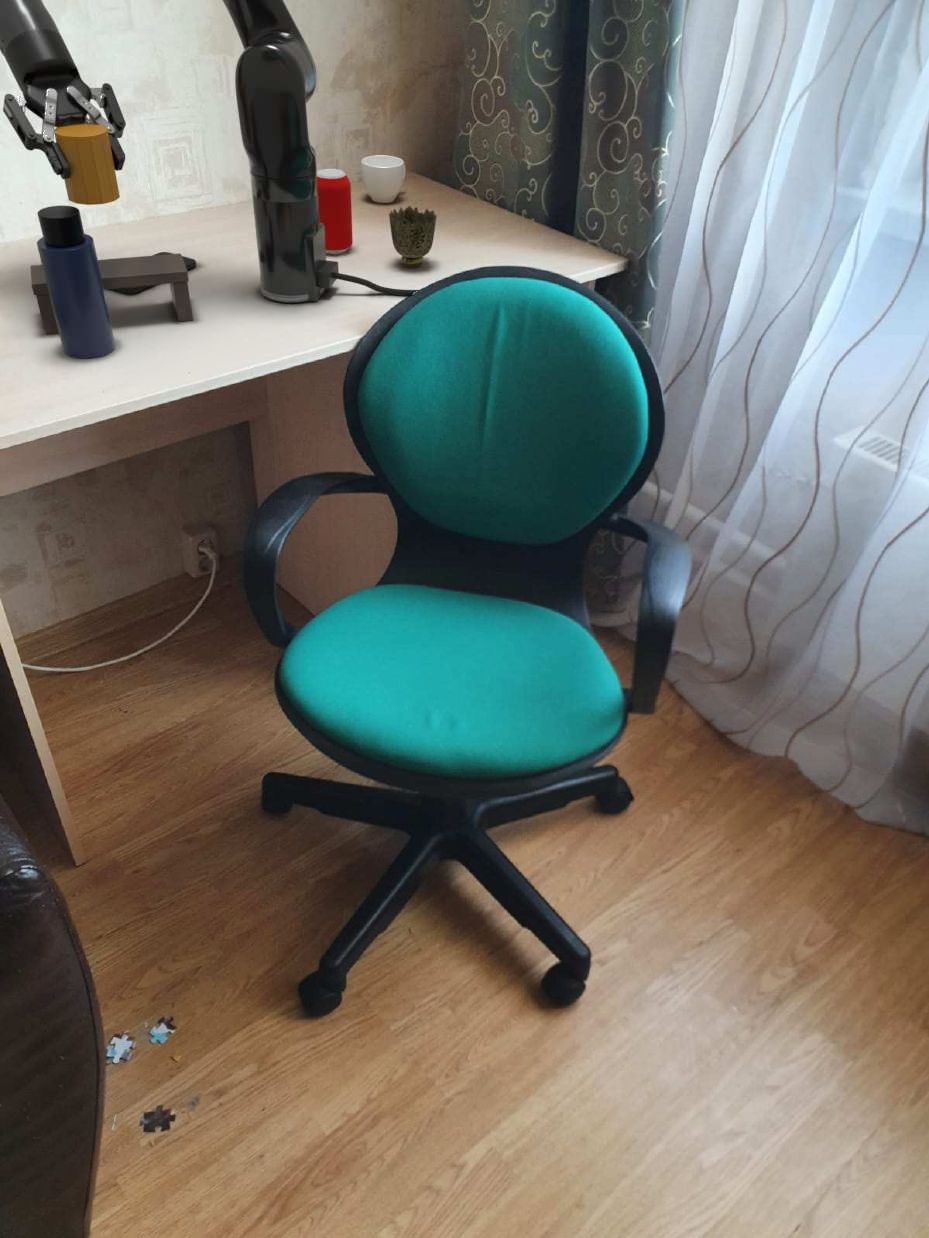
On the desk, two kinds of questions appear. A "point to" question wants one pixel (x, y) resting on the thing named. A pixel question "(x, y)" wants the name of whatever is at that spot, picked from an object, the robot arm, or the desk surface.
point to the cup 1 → (383, 177)
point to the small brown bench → (125, 282)
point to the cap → (88, 163)
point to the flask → (74, 284)
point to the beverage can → (335, 209)
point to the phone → (188, 263)
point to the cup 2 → (412, 234)
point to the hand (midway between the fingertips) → (94, 171)
